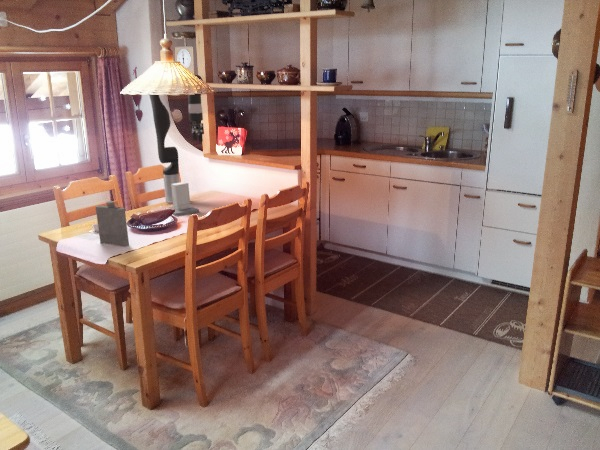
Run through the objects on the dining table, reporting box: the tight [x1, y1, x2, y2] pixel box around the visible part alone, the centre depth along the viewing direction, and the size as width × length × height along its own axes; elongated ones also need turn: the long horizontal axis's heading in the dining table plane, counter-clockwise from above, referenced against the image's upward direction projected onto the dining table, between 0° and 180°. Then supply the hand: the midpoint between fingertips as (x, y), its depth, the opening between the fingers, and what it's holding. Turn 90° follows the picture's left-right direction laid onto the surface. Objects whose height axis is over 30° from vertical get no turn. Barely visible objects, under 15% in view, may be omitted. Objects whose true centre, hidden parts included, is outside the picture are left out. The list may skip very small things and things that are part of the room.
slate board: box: [166, 204, 200, 217], centre depth 300 cm, size 16×14×2 cm
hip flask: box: [95, 200, 130, 247], centre depth 243 cm, size 16×4×20 cm, turn 67°
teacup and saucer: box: [88, 222, 99, 234], centre depth 266 cm, size 9×8×4 cm
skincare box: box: [171, 181, 192, 211], centre depth 298 cm, size 8×6×15 cm
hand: (197, 141), depth 300 cm, fingers open, 8 cm apart
